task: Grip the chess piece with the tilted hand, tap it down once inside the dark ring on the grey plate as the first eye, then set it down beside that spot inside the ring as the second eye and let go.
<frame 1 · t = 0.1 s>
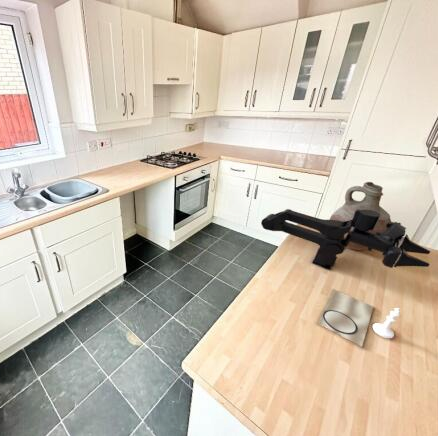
hand: (429, 258, 79), 17 cm above the counter, tool horizontal, fingers open, 9 cm apart
jug: (349, 245, 114), on the counter
chess piece: (382, 331, 74), on the counter
grey plate with ring: (346, 315, 79), on the counter
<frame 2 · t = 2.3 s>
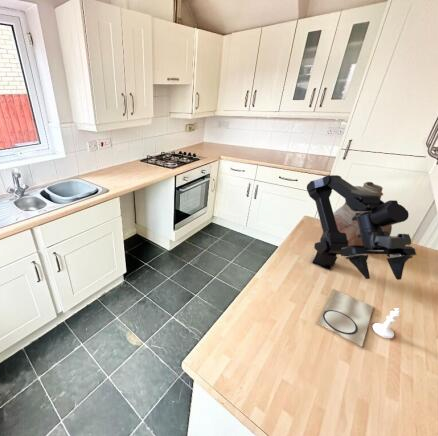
hand: (383, 279, 75), 14 cm above the counter, tool tilted 45°, fingers open, 9 cm apart
nothing on the counter moved.
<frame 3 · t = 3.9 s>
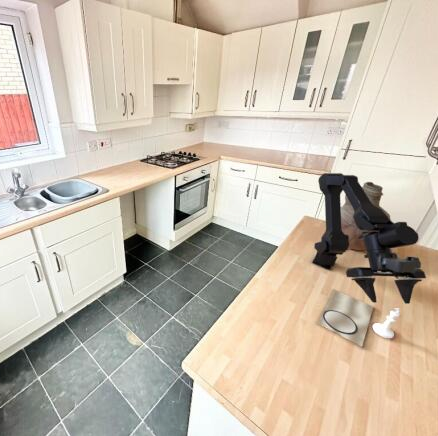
hand: (390, 303, 72), 10 cm above the counter, tool tilted 45°, fingers open, 9 cm apart
nothing on the counter moved.
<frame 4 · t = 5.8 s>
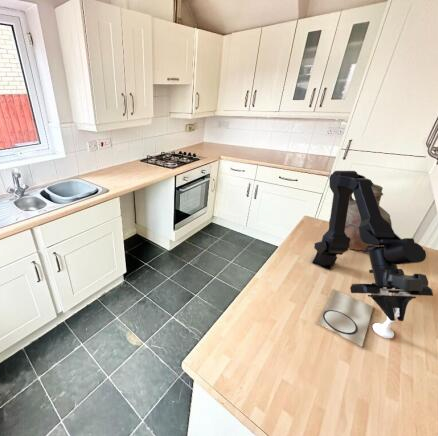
hand: (396, 320, 70), 7 cm above the counter, tool tilted 45°, fingers closed on chess piece
chess piece: (382, 331, 74), on the counter, touching gripper
everything else where it was.
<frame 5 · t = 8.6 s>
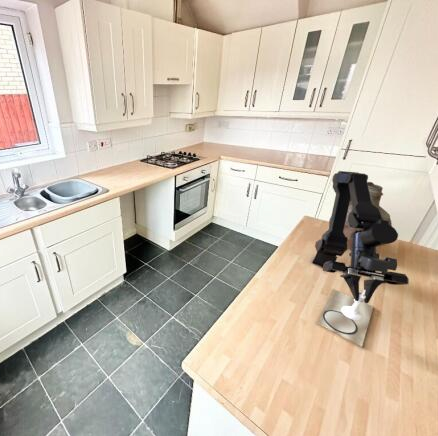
hand: (361, 302, 70), 11 cm above the counter, tool tilted 45°, fingers closed on chess piece
chess piece: (350, 314, 75), point 4 cm above the counter, touching gripper
everything else where it was.
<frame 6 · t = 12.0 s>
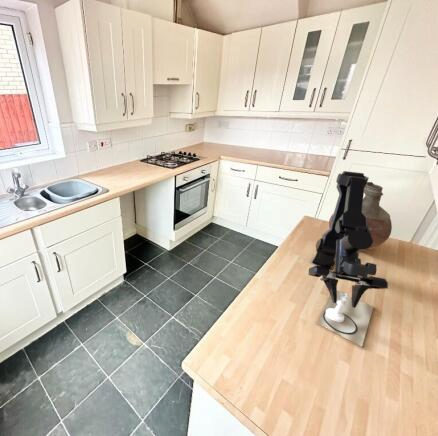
hand: (344, 305, 74), 8 cm above the counter, tool tilted 45°, fingers open, 4 cm apart
chess piece: (334, 316, 79), point 1 cm above the counter, touching grey plate with ring
everything else where it was.
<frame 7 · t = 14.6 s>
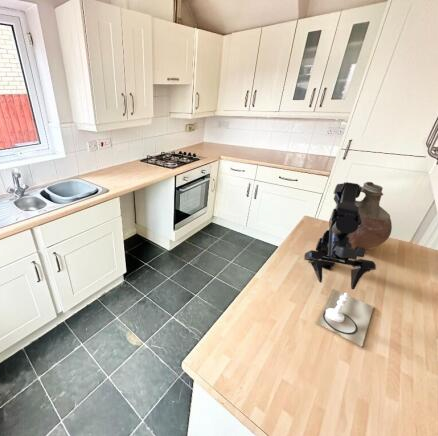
hand: (336, 285, 81), 7 cm above the counter, tool tilted 45°, fingers open, 9 cm apart
nothing on the counter moved.
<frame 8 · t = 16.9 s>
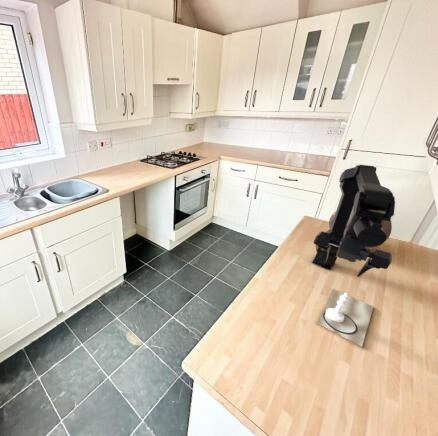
hand: (340, 269, 80), 13 cm above the counter, tool pointing down, fingers open, 9 cm apart
nothing on the counter moved.
at the end: chess piece 2.2 cm from the target spot, point 0.6 cm above the counter; chess piece tilted 0°; the gripper is holding nothing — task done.
